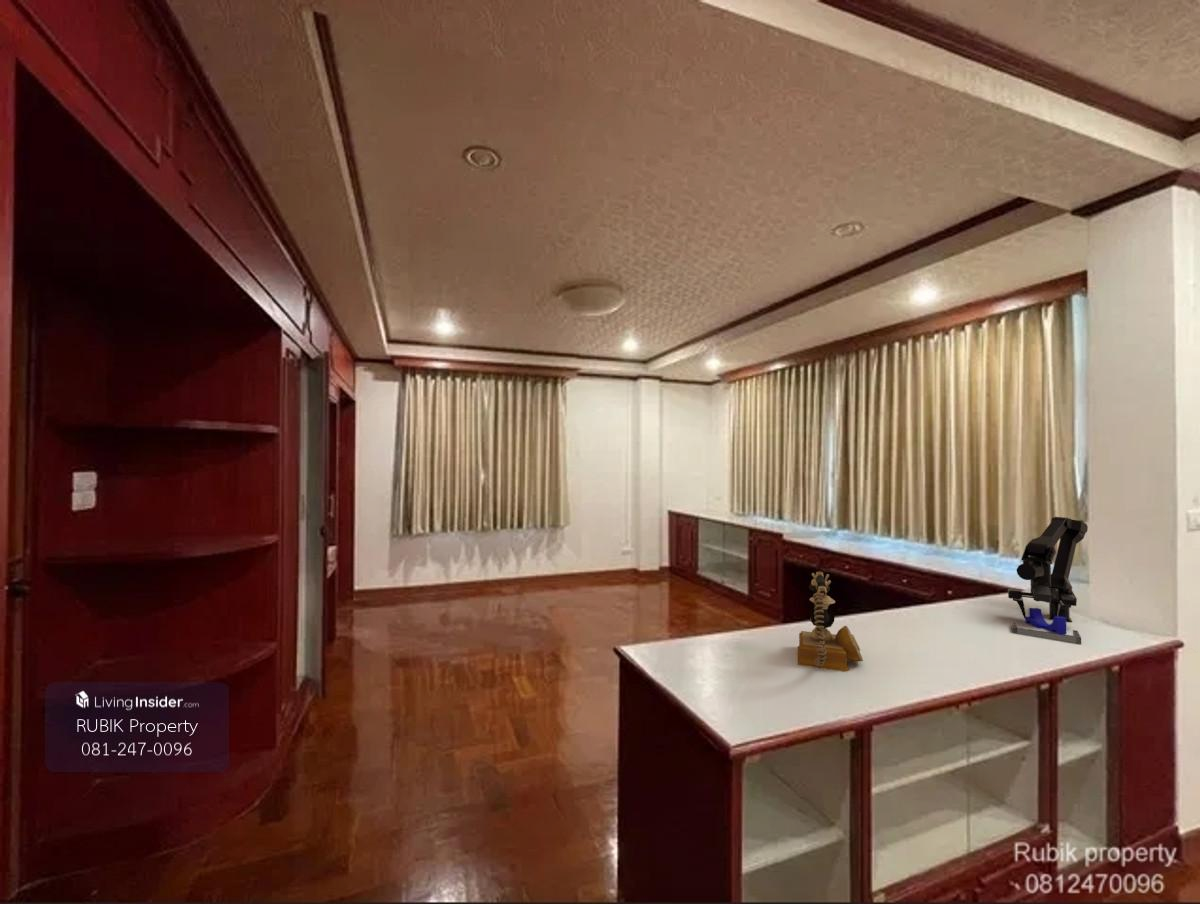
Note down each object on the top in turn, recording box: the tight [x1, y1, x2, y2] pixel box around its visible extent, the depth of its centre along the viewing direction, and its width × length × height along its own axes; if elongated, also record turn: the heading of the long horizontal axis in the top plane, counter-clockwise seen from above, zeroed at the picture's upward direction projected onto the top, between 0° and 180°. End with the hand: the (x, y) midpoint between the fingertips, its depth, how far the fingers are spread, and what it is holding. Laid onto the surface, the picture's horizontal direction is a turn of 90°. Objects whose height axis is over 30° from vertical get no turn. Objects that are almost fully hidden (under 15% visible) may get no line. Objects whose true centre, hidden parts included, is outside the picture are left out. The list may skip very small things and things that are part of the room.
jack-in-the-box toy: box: [797, 571, 864, 672], centre depth 152 cm, size 35×18×25 cm, turn 159°
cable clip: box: [1025, 607, 1067, 635], centre depth 187 cm, size 12×4×6 cm, turn 179°
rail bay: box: [1011, 621, 1082, 645], centre depth 180 cm, size 9×17×2 cm, turn 54°
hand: (1041, 620), depth 192 cm, fingers open, 9 cm apart
